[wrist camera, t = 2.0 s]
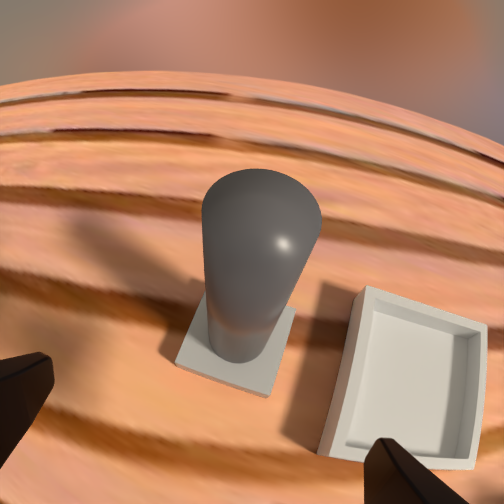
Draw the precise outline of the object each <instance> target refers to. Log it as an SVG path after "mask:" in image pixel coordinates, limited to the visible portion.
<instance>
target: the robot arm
mask: <svg viewBox="0 0 504 504" xmlns="http://www.w3.org/2000/svg"><path fill="white" fill-rule="evenodd" d="M54 382H55V379H54V371H53V362H52V359H51V357H49V356H48V355H45V354H43V353H41V352H36V353H31V354H26V355H22V356H17V357H13V358H8V359H3V360H0V469H1V467H2V466H3V464H4V463H5V461H6V460H7V459H8V457H9V456H10V454H11V453H12V451H13V450H14V449H15V447H16V446H17V444H18V443H19V441H20V440H21V439H22V437H23V436H24V435H25V433H26V432H27V430H28V429H29V427H30V426H31V425H32V423H33V421H34V420H35V418H36V416H37V414H38V413H39V411H40V409H41V407H42V406H43V404H44V402H45V400H46V399H47V397H48V395H49V394H50V392H51V390H52V388H53V386H54ZM364 504H469V503H468V502H467V501H465V500H464V499H463V498H462V497H461V496H459V495H458V494H457V493H456V492H455V491H453V490H452V489H451V488H450V487H449V486H447V485H446V484H445V483H444V482H443V481H441V480H440V479H439V478H438V477H437V476H436V475H434V474H433V473H432V472H431V471H430V470H429V469H427V468H426V467H425V466H424V465H423V464H422V463H420V462H419V461H418V460H417V459H416V458H415V457H413V456H412V455H411V454H410V453H409V452H408V451H407V450H405V449H404V448H403V447H402V446H401V445H400V444H399V443H398V442H396V441H395V440H394V439H393V438H384V437H380V438H378V439H377V440H376V441H375V442H374V444H373V446H372V447H371V449H370V451H369V452H368V454H367V455H366V457H365V460H364Z"/></svg>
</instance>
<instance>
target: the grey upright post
mask: <svg viewBox="0 0 504 504" xmlns="http://www.w3.org/2000/svg"><path fill="white" fill-rule="evenodd" d="M321 225H322V216H321V211H320V208H319V205H318V203H317V201H316V199H315V198H314V196H313V195H312V194H311V193H310V191H309V190H308V189H307V188H306V187H305V186H303V185H302V184H301V183H300V182H298V181H297V180H295V179H293V178H292V177H289V176H287V175H285V174H282V173H280V172H276V171H272V170H267V169H245V170H240V171H236V172H233V173H230V174H228V175H226V176H224V177H222V178H221V179H219V180H218V181H217V182H215V183H214V184H213V185H212V186H211V188H210V189H209V190H208V192H207V193H206V195H205V197H204V200H203V204H202V234H203V256H204V274H205V292H204V294H203V297H202V299H201V301H200V304H199V306H198V308H197V311H196V313H195V315H194V318H193V320H192V322H191V325H190V327H189V329H188V332H187V334H186V336H185V339H184V341H183V343H182V346H181V348H180V351H179V353H178V355H177V358H176V360H175V364H176V365H177V367H178V368H181V369H183V370H186V371H188V372H191V373H194V374H196V375H199V376H202V377H204V378H207V379H210V380H212V381H215V382H218V383H221V384H224V385H227V386H230V387H232V388H235V389H238V390H241V391H245V392H248V393H251V394H254V395H257V396H260V397H264V398H268V397H269V396H270V394H271V391H272V388H273V385H274V381H275V378H276V375H277V372H278V369H279V365H280V362H281V359H282V356H283V352H284V349H285V346H286V342H287V339H288V335H289V332H290V329H291V325H292V322H293V318H294V315H295V311H296V309H295V308H292V307H289V306H286V304H287V302H288V300H289V298H290V296H291V294H292V291H293V289H294V287H295V285H296V283H297V281H298V279H299V277H300V275H301V273H302V271H303V268H304V266H305V264H306V262H307V260H308V258H309V256H310V254H311V251H312V249H313V247H314V245H315V243H316V241H317V238H318V236H319V234H320V230H321Z"/></svg>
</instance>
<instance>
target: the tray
mask: <svg viewBox="0 0 504 504" xmlns="http://www.w3.org/2000/svg"><path fill="white" fill-rule="evenodd" d="M486 372H487V325H486V324H483V323H480V322H477V321H474V320H471V319H468V318H465V317H462V316H459V315H456V314H453V313H450V312H447V311H444V310H441V309H438V308H435V307H432V306H429V305H426V304H423V303H420V302H417V301H414V300H411V299H408V298H405V297H402V296H399V295H396V294H393V293H390V292H386V291H383V290H380V289H377V288H374V287H371V286H368V285H366V286H365V287H364V288H363V289H362V291H361V292H360V293H359V294H358V295H357V296H356V297H355V299H354V300H353V305H352V310H351V316H350V321H349V326H348V331H347V336H346V341H345V346H344V350H343V355H342V359H341V364H340V368H339V372H338V377H337V381H336V385H335V389H334V393H333V397H332V401H331V405H330V408H329V412H328V416H327V419H326V423H325V427H324V430H323V433H322V437H321V440H320V444H319V447H318V450H317V455H321V456H326V457H332V458H337V459H343V460H348V461H355V462H361V463H364V460H365V457H366V455H367V454H368V452H369V451H370V449H371V447H372V446H373V444H374V442H375V441H376V440H377V439H378V438H380V437H384V438H393V439H394V440H395V441H396V442H398V443H399V444H400V445H401V446H402V447H403V448H404V449H405V450H407V451H408V452H409V453H410V454H411V455H412V456H413V457H415V458H416V459H417V460H418V461H419V462H420V463H422V464H423V465H424V466H425V467H426V468H427V469H431V470H474V466H475V461H476V456H477V451H478V445H479V439H480V433H481V426H482V418H483V410H484V400H485V388H486Z"/></svg>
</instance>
